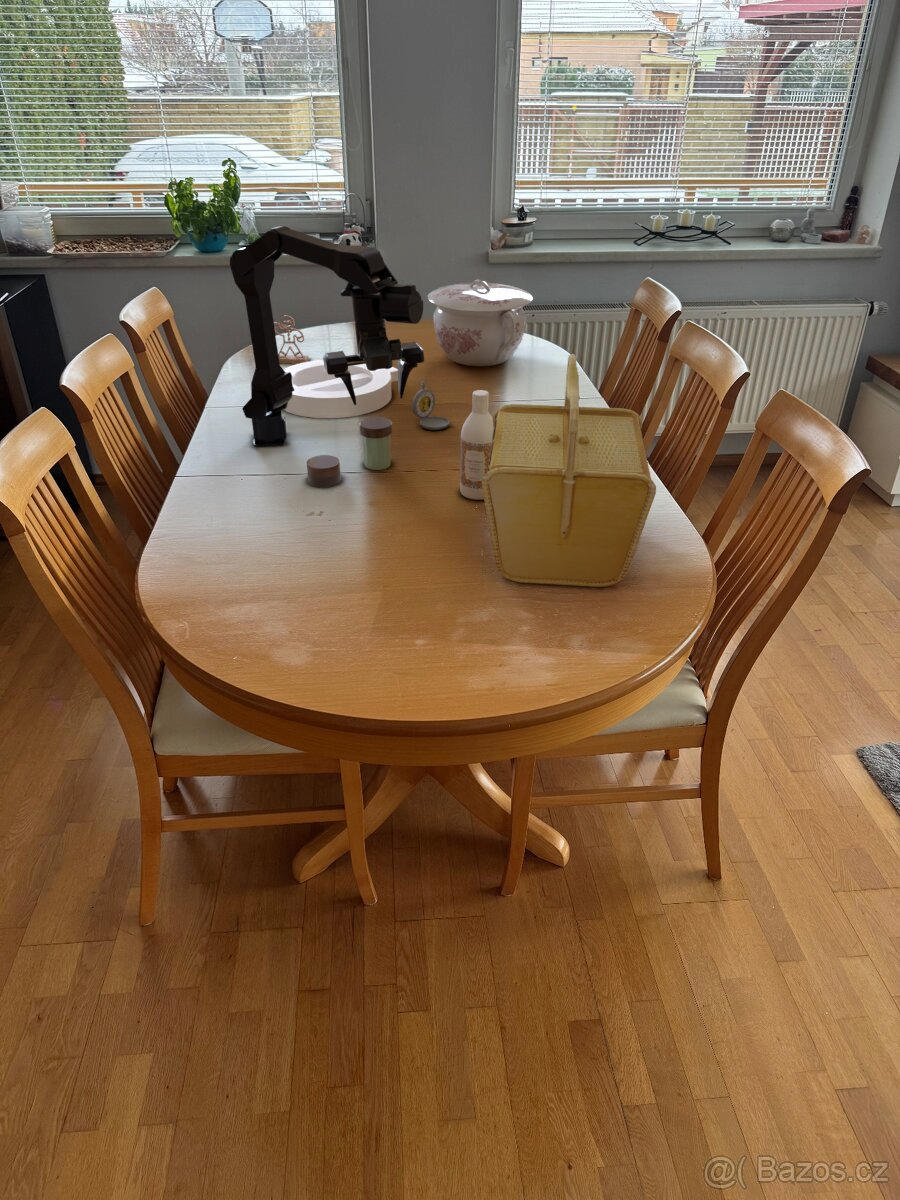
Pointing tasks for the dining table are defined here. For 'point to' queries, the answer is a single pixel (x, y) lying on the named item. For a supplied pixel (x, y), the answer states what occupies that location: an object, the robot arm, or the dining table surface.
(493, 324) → the chamber pot
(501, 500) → the picnic basket
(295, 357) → the gingerbread man figurine
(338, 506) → the dining table surface
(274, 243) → the robot arm
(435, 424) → the pocket watch
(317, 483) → the base chip
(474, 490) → the bath foam
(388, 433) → the dark brown wooden disc
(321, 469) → the middle chip
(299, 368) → the ring with crossbar
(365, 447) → the plastic cup
